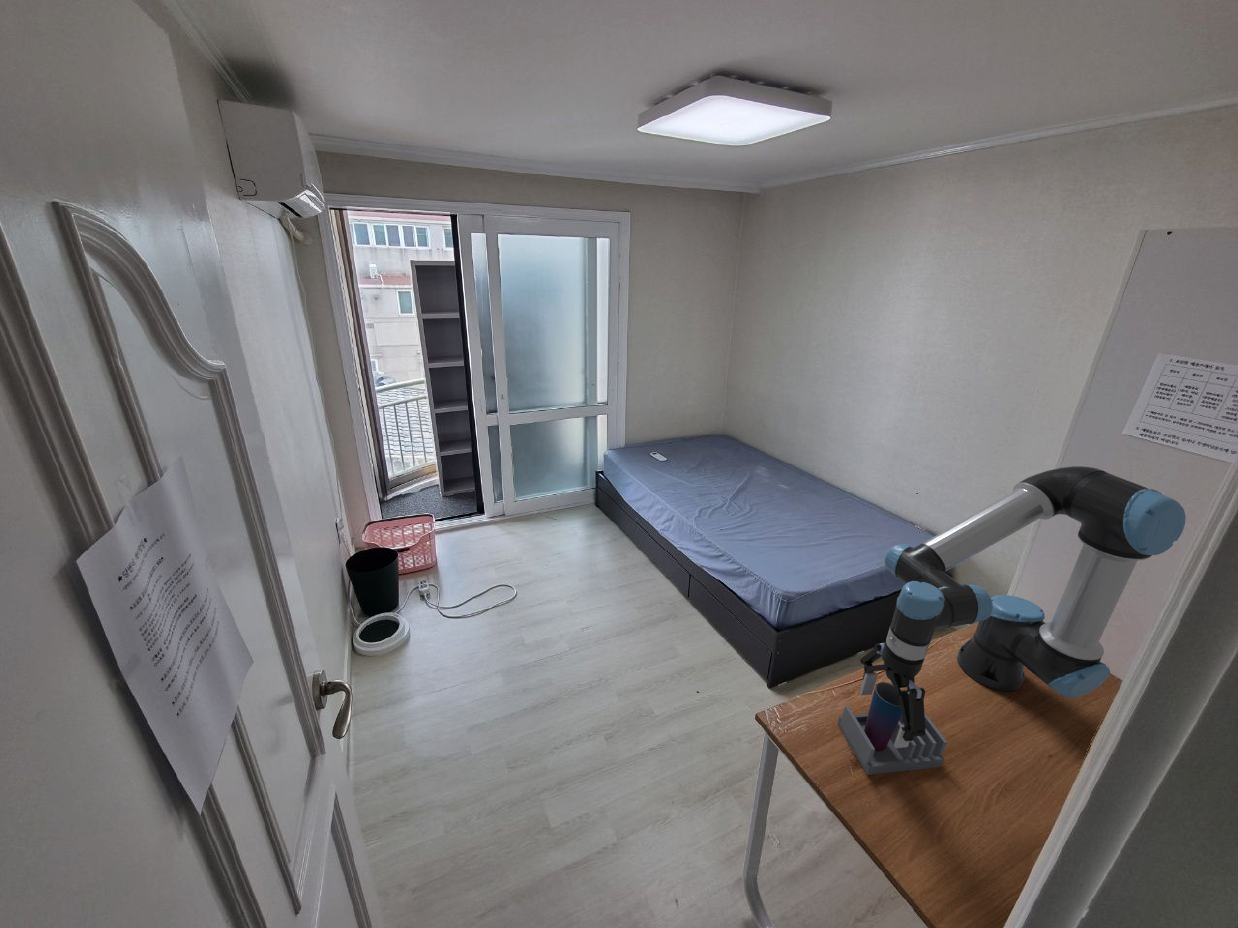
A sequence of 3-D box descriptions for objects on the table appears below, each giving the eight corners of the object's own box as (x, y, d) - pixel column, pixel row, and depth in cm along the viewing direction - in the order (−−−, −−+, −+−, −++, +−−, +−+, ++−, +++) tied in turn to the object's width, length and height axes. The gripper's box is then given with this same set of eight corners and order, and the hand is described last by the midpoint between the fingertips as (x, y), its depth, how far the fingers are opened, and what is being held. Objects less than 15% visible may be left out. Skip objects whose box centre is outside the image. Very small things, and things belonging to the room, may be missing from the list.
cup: (893, 757, 113) (913, 709, 108) (862, 750, 114) (879, 702, 109) (885, 732, 120) (902, 685, 114) (855, 726, 121) (871, 679, 115)
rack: (905, 716, 125) (912, 696, 122) (941, 766, 113) (950, 745, 110) (837, 723, 123) (843, 702, 120) (866, 774, 111) (873, 753, 108)
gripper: (856, 609, 116) (839, 676, 125) (927, 700, 93) (900, 773, 102) (886, 607, 117) (867, 673, 125) (964, 696, 94) (934, 769, 103)
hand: (882, 718), depth 114 cm, fingers open, 13 cm apart
